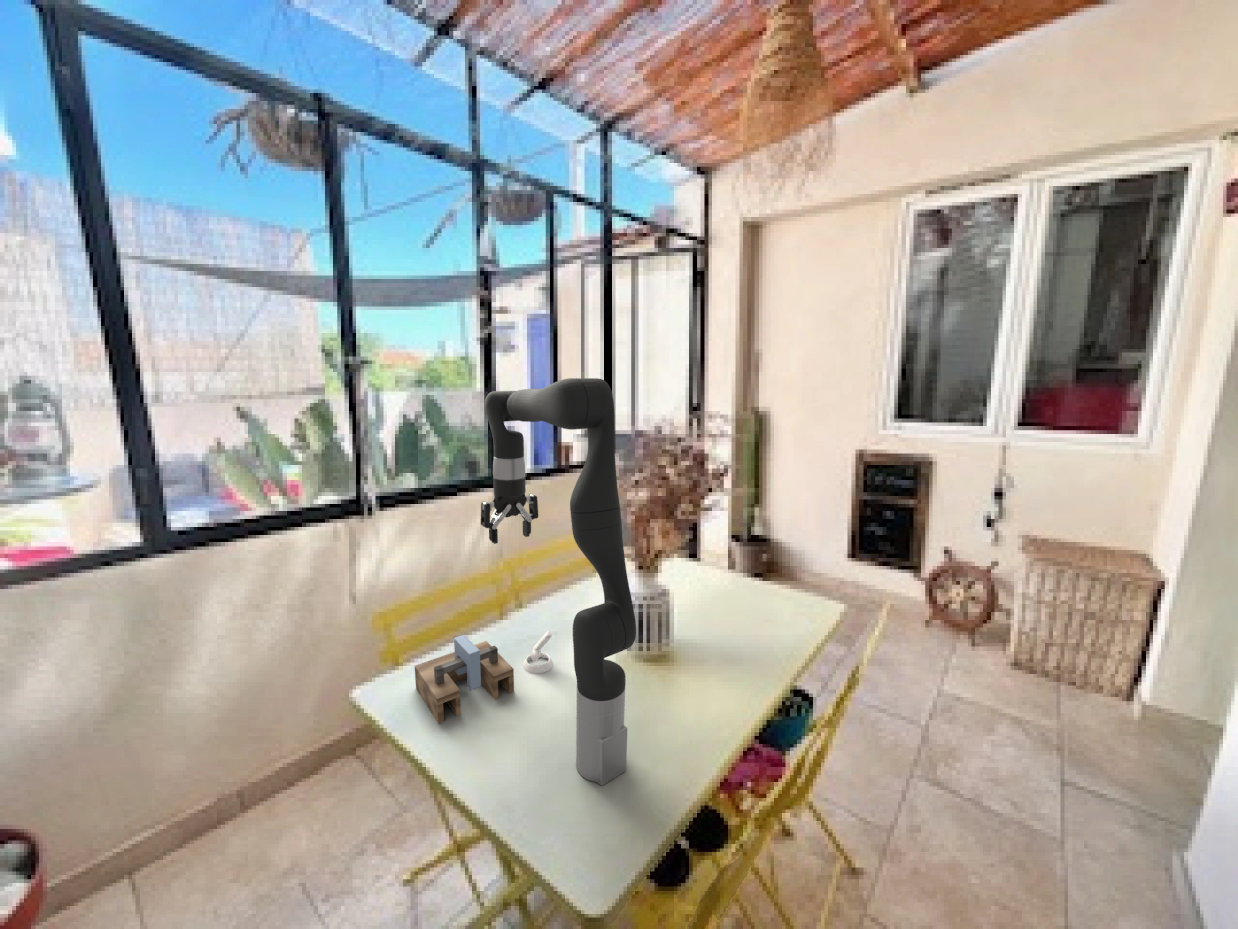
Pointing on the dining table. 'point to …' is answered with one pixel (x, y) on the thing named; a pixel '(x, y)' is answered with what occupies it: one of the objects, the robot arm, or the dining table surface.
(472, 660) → the blue arch block
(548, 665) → the mortar and pestle
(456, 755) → the dining table surface
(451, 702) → the wooden stand with handle
